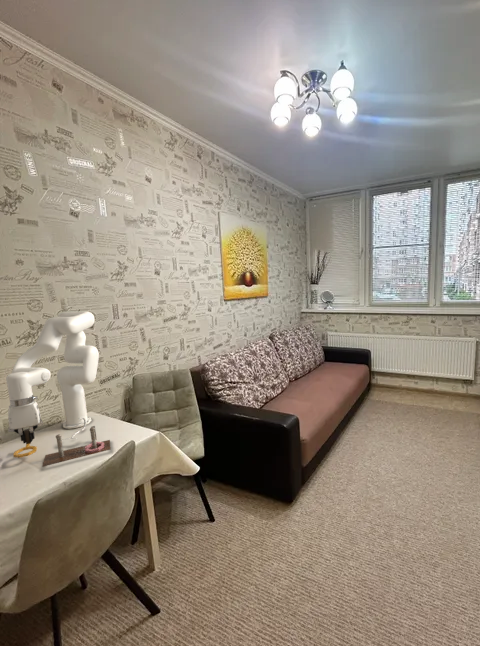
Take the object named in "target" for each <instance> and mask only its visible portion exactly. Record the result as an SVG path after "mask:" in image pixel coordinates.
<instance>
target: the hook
mask: <svg viewBox="0 0 480 646" xmlns="http://www.w3.org/2000/svg"><path fill="white" fill-rule="evenodd" d="M80 419H83V420H84V426H82V429H81V431H85V429H86V426H87V425H86V419H85V418H84V417H81V418H80ZM80 419H79V420H80ZM79 432H80V430H78V431H76V432H74V433H73V435H71V436H70V437H67V438H66V440H70V439H72V440H74V439H75V440H78V439H79V438H77V437H75V436H76V435H78V433H79ZM64 440H65V438H63V439H62V441H64Z"/></svg>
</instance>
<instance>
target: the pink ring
mask: <svg viewBox="0 0 480 646" xmlns="http://www.w3.org/2000/svg"><path fill="white" fill-rule="evenodd" d="M91 427H94V428H95V429H96V426H95V425H93V426H91ZM95 437H96V445H101V446H100V447H98V448H96V449H92V450H91V449H88V448H90V447H91V446H92V442H91V443H89V444H86V445H87V446H86V447H85V452H88V453H92V452H96V451H99V450H101V449H102V448H104V443H103V442H102V441H97V432H96V430H95Z"/></svg>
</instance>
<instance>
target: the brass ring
mask: <svg viewBox="0 0 480 646" xmlns="http://www.w3.org/2000/svg"><path fill="white" fill-rule="evenodd" d="M29 431H30V429H29V428H26V429H24V433H25V439H26V443H25V444H26V445H25V446H24V447H21V448H19V449H17V450H15V451H14V452H13V454H12V455H13V458H16V459H17V458H18V459H20V458H24V457H28V456H30V455H33V454H35V453H36V452H37V450H38V446H36V445H31V444H32V442H30V440H29ZM27 450H30V451H28V452H23V451H27ZM21 452H23V453H21Z"/></svg>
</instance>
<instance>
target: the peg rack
mask: <svg viewBox="0 0 480 646" xmlns="http://www.w3.org/2000/svg"><path fill="white" fill-rule="evenodd" d="M95 431H96V427H95V428H94V427H92V426H91V427H90V428H89V432H90V438H91V443H92V446H91V447H90V448H88V449H91V450H92V449H96V448H98V447H100V446H101V445H96V442H97V440H96V439H97V436H96V437H95ZM55 439H56V444H57V451H56V452H52V453H48V454H45V456H44V459H43V463H42V465H41V467H42V468H44V467H48V466H52V465H54V464H55V465H56V464H59V463H63V462H67V461H71V460H76V459H79V458H82V457H86V456H90V455H95V454H99V453H102V452H106V451H110V450H111V440H110V439H106V440H103V441H101V442H103V443H104V448H102V449H101V450H99V451H96V452H92V453H88V452H85V447H86V446H87V445H88V444H86V445H81V446H78V447H73V448H70V449H69V448H68V449H65V450H64V448H63V447H64V446H63V439H62V434H60V433H58V434H56V435H55Z"/></svg>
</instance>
